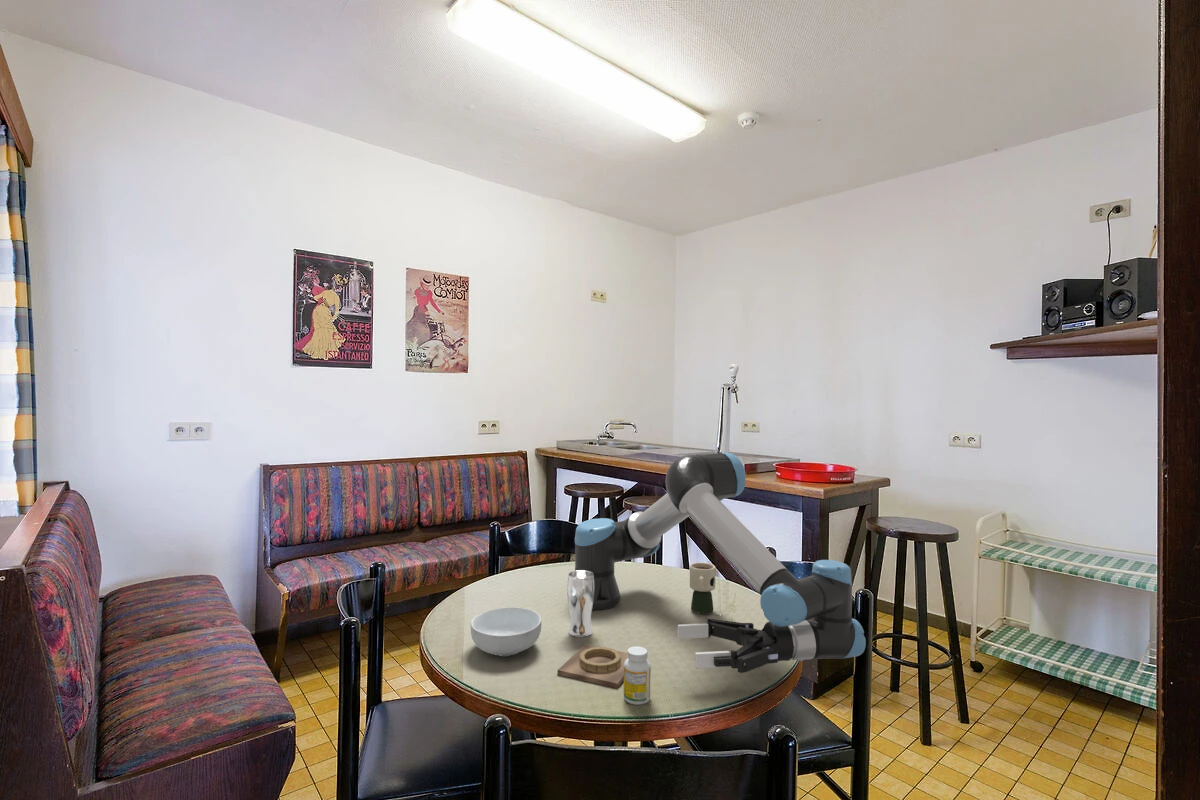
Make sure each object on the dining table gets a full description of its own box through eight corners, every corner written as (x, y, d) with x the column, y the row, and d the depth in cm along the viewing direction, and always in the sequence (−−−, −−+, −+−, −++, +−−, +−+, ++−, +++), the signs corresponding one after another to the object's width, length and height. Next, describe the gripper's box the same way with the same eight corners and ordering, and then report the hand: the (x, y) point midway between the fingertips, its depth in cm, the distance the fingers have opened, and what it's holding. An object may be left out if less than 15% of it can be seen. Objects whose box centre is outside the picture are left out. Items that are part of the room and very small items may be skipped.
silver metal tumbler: (573, 640, 141) (574, 579, 141) (562, 629, 147) (563, 572, 147) (598, 635, 144) (599, 575, 144) (586, 625, 151) (587, 568, 150)
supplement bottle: (639, 708, 110) (640, 659, 110) (617, 699, 114) (618, 651, 114) (655, 697, 115) (656, 650, 115) (634, 688, 118) (634, 642, 118)
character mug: (714, 620, 154) (714, 572, 154) (687, 617, 156) (688, 570, 156) (715, 606, 165) (716, 561, 165) (691, 603, 167) (691, 559, 167)
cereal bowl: (464, 640, 141) (464, 611, 141) (529, 630, 147) (530, 602, 147) (478, 671, 125) (478, 639, 125) (550, 658, 132) (550, 627, 131)
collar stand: (557, 674, 124) (557, 663, 124) (584, 648, 137) (585, 638, 137) (617, 688, 118) (617, 676, 118) (640, 659, 131) (640, 649, 131)
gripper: (817, 689, 105) (704, 695, 103) (763, 634, 130) (671, 638, 127) (817, 648, 105) (704, 653, 103) (763, 601, 130) (671, 604, 127)
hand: (686, 645), depth 115 cm, fingers open, 13 cm apart
